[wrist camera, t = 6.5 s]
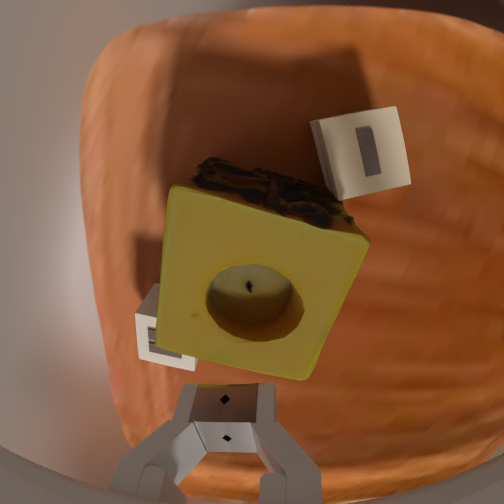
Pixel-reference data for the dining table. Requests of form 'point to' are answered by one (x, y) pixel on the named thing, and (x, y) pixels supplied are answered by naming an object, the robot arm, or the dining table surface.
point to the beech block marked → (361, 152)
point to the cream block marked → (146, 336)
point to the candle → (254, 269)
